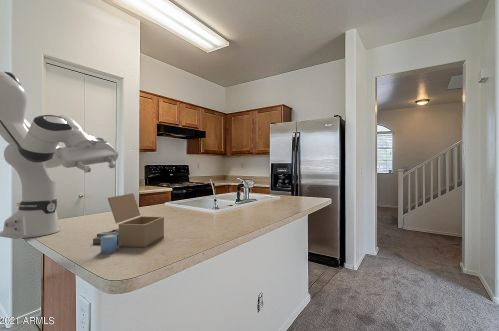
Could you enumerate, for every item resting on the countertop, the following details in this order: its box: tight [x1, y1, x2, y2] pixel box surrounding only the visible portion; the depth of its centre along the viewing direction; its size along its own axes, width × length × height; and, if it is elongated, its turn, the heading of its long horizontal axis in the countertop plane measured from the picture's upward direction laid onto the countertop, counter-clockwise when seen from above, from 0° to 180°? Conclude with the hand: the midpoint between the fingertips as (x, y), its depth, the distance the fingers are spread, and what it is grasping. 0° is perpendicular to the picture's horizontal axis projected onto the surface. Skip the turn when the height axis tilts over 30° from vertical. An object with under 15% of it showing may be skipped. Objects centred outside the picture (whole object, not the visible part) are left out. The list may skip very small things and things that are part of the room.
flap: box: [107, 193, 141, 224], centre depth 97 cm, size 10×14×1 cm
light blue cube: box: [100, 235, 118, 255], centre depth 84 cm, size 5×5×5 cm
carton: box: [118, 215, 165, 249], centre depth 96 cm, size 10×14×8 cm
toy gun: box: [92, 228, 119, 245], centre depth 103 cm, size 25×3×15 cm
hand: (101, 168), depth 95 cm, fingers open, 8 cm apart
